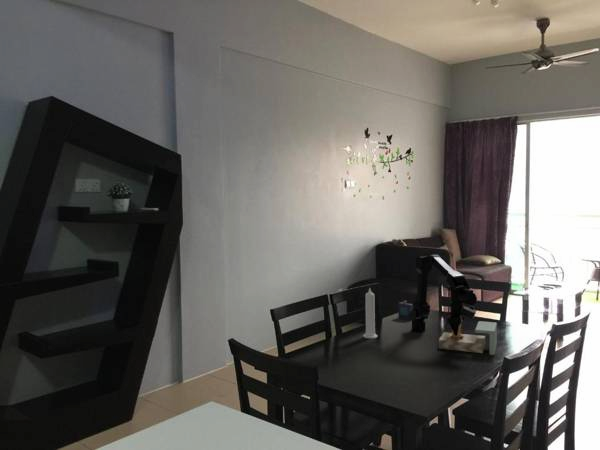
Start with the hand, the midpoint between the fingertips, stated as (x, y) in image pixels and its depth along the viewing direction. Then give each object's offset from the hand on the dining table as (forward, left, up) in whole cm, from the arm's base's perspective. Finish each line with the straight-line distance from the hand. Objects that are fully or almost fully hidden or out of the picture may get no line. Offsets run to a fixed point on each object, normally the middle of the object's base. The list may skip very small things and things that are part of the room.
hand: (456, 334), depth 234 cm
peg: (0, 0, -3) cm, 3 cm away
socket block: (+3, 0, -6) cm, 6 cm away
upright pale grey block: (+13, 0, -6) cm, 14 cm away
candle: (-42, 0, -6) cm, 42 cm away
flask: (-34, +42, -6) cm, 54 cm away
